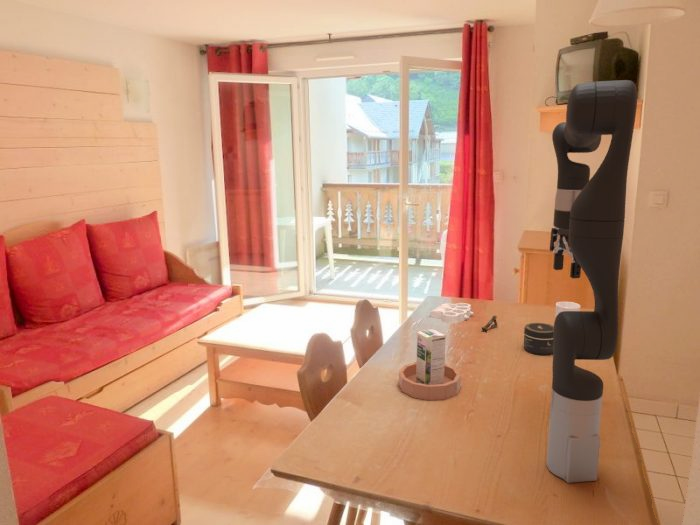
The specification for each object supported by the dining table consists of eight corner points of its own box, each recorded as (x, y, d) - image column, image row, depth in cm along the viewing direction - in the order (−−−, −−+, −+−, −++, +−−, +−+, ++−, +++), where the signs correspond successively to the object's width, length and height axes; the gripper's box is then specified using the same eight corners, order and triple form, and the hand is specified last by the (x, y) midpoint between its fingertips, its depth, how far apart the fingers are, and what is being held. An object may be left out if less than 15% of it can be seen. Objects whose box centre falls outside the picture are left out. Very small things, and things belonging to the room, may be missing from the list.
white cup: (552, 334, 187) (554, 306, 185) (555, 327, 194) (557, 300, 191) (577, 337, 183) (579, 309, 181) (579, 330, 190) (581, 303, 188)
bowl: (467, 397, 142) (467, 384, 141) (406, 401, 140) (406, 388, 139) (449, 372, 157) (450, 360, 156) (395, 375, 156) (395, 363, 155)
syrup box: (415, 381, 150) (415, 331, 147) (432, 377, 153) (433, 328, 149) (427, 389, 145) (427, 338, 142) (445, 385, 148) (446, 334, 144)
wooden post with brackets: (500, 324, 195) (497, 314, 193) (488, 337, 191) (485, 328, 189) (495, 323, 197) (493, 313, 194) (483, 336, 192) (481, 326, 190)
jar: (534, 357, 167) (536, 334, 166) (516, 346, 177) (518, 323, 175) (563, 354, 170) (564, 330, 168) (543, 342, 179) (545, 320, 178)
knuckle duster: (444, 307, 219) (479, 313, 212) (425, 320, 204) (463, 326, 197) (444, 299, 219) (479, 305, 211) (425, 311, 204) (463, 317, 196)
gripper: (542, 205, 137) (538, 267, 140) (571, 212, 123) (565, 281, 127) (571, 204, 138) (566, 266, 141) (602, 211, 124) (596, 280, 127)
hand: (566, 273), depth 134 cm, fingers open, 8 cm apart
